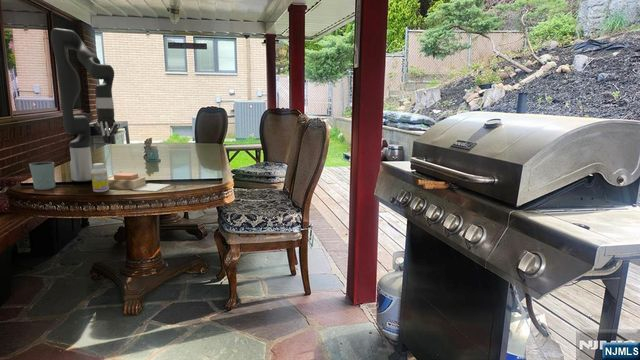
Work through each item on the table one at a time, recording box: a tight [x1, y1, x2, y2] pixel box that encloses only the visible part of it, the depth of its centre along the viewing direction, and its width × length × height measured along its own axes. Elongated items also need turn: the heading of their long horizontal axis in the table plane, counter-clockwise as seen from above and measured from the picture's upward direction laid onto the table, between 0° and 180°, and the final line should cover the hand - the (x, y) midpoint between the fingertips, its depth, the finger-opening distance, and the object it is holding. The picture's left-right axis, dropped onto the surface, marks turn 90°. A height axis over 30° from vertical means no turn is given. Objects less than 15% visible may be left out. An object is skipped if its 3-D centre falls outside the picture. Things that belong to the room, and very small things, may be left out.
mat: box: [132, 183, 171, 192], centre depth 206 cm, size 12×14×1 cm
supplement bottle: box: [91, 162, 110, 193], centre depth 197 cm, size 7×7×13 cm
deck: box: [107, 174, 147, 190], centre depth 208 cm, size 20×10×4 cm, turn 81°
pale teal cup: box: [29, 161, 56, 191], centre depth 202 cm, size 10×10×12 cm
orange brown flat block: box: [113, 172, 139, 180], centre depth 207 cm, size 9×6×2 cm, turn 81°
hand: (108, 143), depth 205 cm, fingers closed
